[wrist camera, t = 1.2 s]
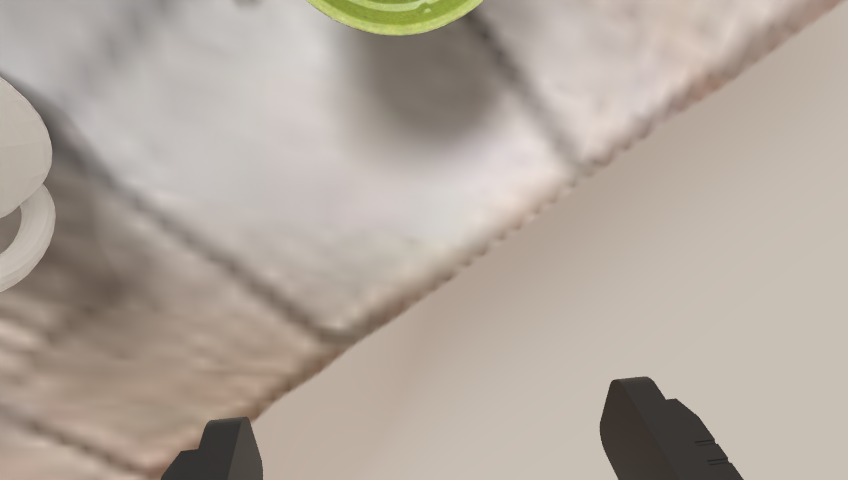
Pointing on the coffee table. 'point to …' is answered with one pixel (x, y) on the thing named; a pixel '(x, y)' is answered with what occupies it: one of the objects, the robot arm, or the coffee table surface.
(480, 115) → the coffee table surface
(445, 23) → the plant pot
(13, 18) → the coffee table surface
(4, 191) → the cat figurine
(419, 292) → the coffee table surface
